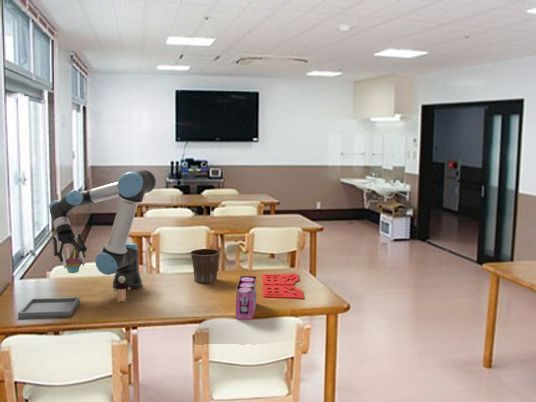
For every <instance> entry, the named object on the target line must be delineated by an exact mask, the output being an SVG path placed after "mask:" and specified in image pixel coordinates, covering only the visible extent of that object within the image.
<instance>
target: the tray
mask: <svg viewBox="0 0 536 402" xmlns="http://www.w3.org/2000/svg"><path fill="white" fill-rule="evenodd" d="M80 298H81V297H78V296H77V297H41V298H39V297H37V298H31V299H30V300H29V301H28V302H27V303H26V304H24V306H23V307H22V308H21V309H20V310H19V311H18V312H17V317H18V319H39V318H68V317H71V316H72V315H73V313H74V312H75V311H76V309H77V307H78V306H79V304H80V303H81V299H80Z"/></svg>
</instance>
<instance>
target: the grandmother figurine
mask: <svg viewBox="0 0 536 402" xmlns="http://www.w3.org/2000/svg"><path fill="white" fill-rule="evenodd" d="M124 281H125V277H124V276H120V277H119V282H120V283H118V284H117V285H116V287H115V288H114V289H113V292H117V300H116V303H121V302H122V303H126V302H127V300H126V299H127V290H126V289H125V287H126V288H128V291H131V289H130V287H129V285H128V284H126V283H124ZM117 288H119V289H117Z"/></svg>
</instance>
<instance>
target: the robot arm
mask: <svg viewBox="0 0 536 402" xmlns="http://www.w3.org/2000/svg"><path fill="white" fill-rule="evenodd" d="M156 184H157V179H156V176H155V175H154V173H153V172H152V171H149V170H145V169H142V170H133V171H128V172H125V173H124V174H121V176H120V177H119V179H118V181H116V182H113V183H109V184H105V185H102V186H98V187H94V188H91V189H88V190H83V191H79V190H78V189H77V190H76V189H71V190H70V191H68V192H67V193H66V194H65V196H63V198H61V199H55V200H54V201H51V202H50V204H49V205H48V207H49V209H48V210H49V212H50V213H49V214H50V215H51V219H52V222H53V226H54V230H55V232H56V235H57V236H56V237H55V236H52V239H51V242H52V243H53V256H54V257H57V258H59V262H60V263H62V265H63V268H64V269H67V268H66V266H67V264H66V260H67V259H66V257H65V253H63V250H64V246H65V245H67V244H68V245H69V244H70V245H71V246H72V247H74V249H75V250H76V251H78V256H79V259H80V260H81V262H82V264H81V266H85V264H86V260H85V258H86V255H85V253H87V250H88V248H87V246H86V245H85V243H84V240H83V239H82V237H81V234H80V233H79V234H75V233H74V232H73V231H74V230H73V229H72V226H71V222H70V219H69V216H68V215H69V214H70V213H71V212H73V210H74V209H77V208H80V207H81V208H82V207H84V206H91V205H93V204H95V203H100V202H103V201H108V200H110V199H116V198H118V197H119V198H120V201H119V204H118V208H117V211H116V215H115V218H114V221H113V224H112V228H111V231H110V235H109V238H108V242H106V243H104V245H103V248H102V251H101V252H100V253H98V254H97V256H96V257H95V267H96V268H97V270H98V271H99V272H100V273H101V274H103V275H106V276H109V275H114V277H113V279H112V288H114V289H115V287H116V285H117V284H118V283H120V282H119V277H120V276H124V277H125V281H124V283H126V284H128V285H129V287H130V290H135V289H138V288H141V287H142V286H143V280H142V277H141V274H140V272H139V247H138V244H137V243H134V242H128V239H129V235H130V232H131V229H132V226H133V222H134V220H135V219H134V218H135V216H136V213H137V209H138V205H139V204H141V203H142V202H143V200H144V197H145V194H148V193H151V192H152V191H153V190H154V189H155V187H156ZM58 241H59V242H61V244H60V247H59V251H58ZM118 289H119V288H117V289H116V290H118ZM125 289H126V291H127V290H128V288H126V287H125ZM128 291H129V290H128Z"/></svg>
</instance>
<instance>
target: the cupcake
mask: <svg viewBox="0 0 536 402" xmlns="http://www.w3.org/2000/svg"><path fill="white" fill-rule="evenodd" d="M76 251H77V249H74V250H73V257H69V258H66V259H65V260H66V264H67V266H66V268H65V269H66V270H67V272H68V273H69V274H76V273H77V274H78V272H79V271H80V267H81V266H82V262H81V259H80V258H78V257H76Z"/></svg>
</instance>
